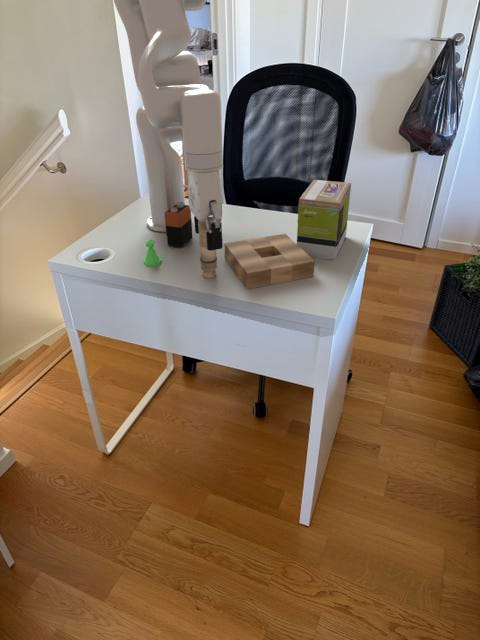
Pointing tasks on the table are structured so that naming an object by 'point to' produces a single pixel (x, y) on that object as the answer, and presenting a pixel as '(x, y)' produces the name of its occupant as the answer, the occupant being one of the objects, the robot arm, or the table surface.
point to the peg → (206, 252)
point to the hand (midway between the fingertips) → (208, 240)
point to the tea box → (323, 218)
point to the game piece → (151, 255)
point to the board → (268, 260)
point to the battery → (178, 225)
